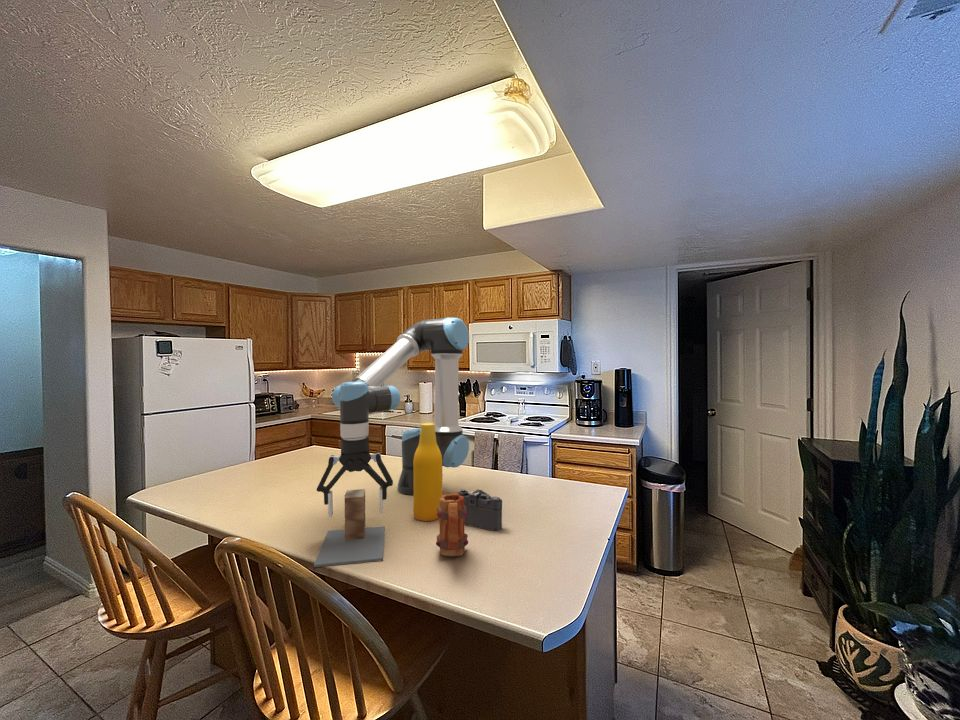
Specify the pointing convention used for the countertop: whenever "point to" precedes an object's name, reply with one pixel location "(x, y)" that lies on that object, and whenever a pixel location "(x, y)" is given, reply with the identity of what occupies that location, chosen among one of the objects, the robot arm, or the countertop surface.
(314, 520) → the countertop surface
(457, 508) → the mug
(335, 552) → the mat
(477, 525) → the camera
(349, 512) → the block
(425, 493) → the beer bottle
